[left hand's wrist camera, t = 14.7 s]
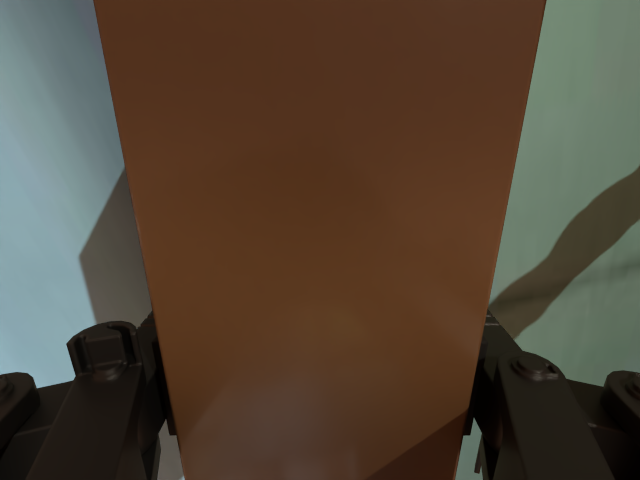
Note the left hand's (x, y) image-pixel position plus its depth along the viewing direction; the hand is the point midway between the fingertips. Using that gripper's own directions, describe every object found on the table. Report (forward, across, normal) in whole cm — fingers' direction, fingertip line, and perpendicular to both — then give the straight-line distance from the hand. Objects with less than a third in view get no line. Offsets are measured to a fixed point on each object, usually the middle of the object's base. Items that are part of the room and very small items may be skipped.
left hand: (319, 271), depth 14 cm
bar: (+1, 0, -7) cm, 7 cm away
